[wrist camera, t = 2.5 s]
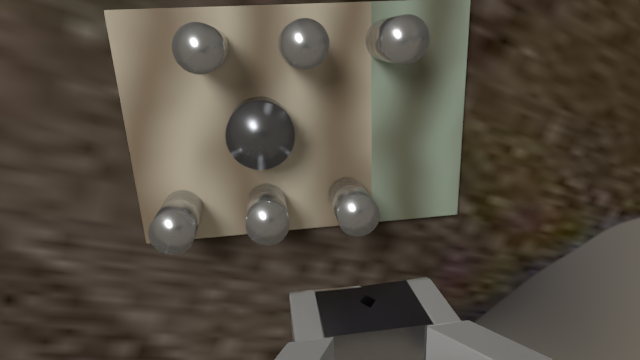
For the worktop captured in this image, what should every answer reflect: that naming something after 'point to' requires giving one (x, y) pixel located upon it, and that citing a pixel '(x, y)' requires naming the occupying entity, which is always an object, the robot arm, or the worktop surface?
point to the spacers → (267, 199)
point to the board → (295, 111)
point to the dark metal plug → (260, 133)
